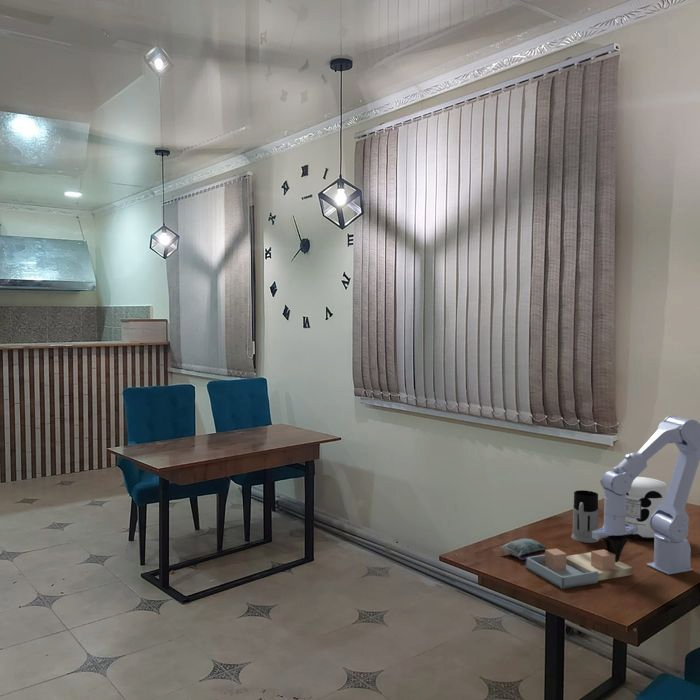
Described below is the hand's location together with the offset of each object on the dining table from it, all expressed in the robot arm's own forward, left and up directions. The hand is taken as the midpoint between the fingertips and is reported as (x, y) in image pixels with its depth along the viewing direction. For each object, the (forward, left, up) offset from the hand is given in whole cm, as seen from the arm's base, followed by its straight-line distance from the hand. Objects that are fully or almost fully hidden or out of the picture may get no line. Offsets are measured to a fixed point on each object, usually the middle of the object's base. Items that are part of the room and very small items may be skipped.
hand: (613, 561), depth 184 cm
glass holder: (-11, -24, -3) cm, 27 cm away
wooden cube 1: (+12, -7, 0) cm, 14 cm away
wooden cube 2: (+4, 0, -1) cm, 4 cm away
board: (+3, -3, -3) cm, 6 cm away
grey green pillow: (+16, -20, -4) cm, 26 cm away
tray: (+16, -3, -3) cm, 16 cm away
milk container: (-33, -22, -3) cm, 40 cm away
